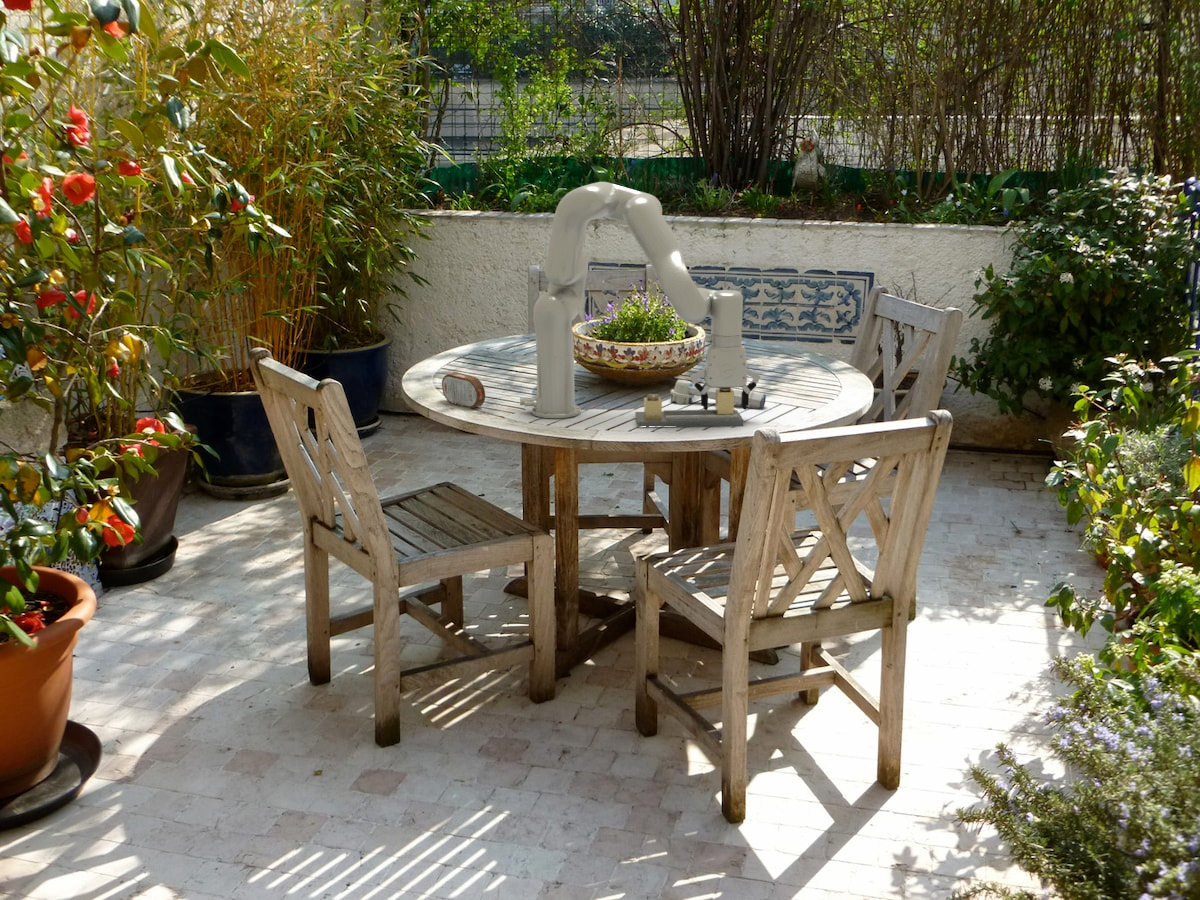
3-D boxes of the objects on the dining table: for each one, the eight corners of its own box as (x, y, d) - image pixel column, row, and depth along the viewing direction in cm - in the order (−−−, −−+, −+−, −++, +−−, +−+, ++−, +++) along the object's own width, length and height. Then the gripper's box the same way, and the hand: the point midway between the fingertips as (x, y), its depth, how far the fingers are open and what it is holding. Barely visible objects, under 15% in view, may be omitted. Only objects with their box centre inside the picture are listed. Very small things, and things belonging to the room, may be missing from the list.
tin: (486, 409, 309) (485, 377, 307) (477, 411, 307) (476, 379, 305) (449, 399, 319) (448, 369, 317) (440, 402, 317) (439, 371, 315)
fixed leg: (645, 418, 293) (645, 397, 291) (644, 414, 296) (644, 393, 295) (661, 418, 293) (661, 396, 291) (659, 414, 297) (660, 393, 295)
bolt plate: (638, 427, 290) (638, 418, 289) (635, 417, 300) (635, 408, 299) (743, 426, 291) (743, 417, 291) (736, 415, 301) (737, 407, 300)
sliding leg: (717, 415, 293) (718, 388, 291) (715, 412, 297) (715, 384, 295) (733, 415, 294) (734, 388, 292) (731, 411, 297) (731, 384, 295)
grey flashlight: (763, 396, 305) (671, 377, 312) (759, 421, 307) (667, 401, 314) (767, 392, 310) (676, 373, 316) (762, 416, 312) (672, 397, 318)
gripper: (693, 344, 286) (692, 412, 291) (763, 343, 287) (761, 411, 292) (689, 338, 293) (688, 405, 298) (758, 337, 294) (756, 404, 299)
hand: (724, 408), depth 295 cm, fingers open, 9 cm apart
